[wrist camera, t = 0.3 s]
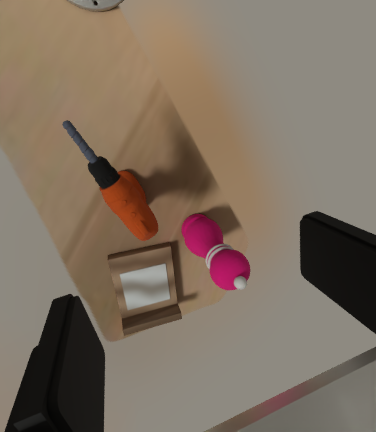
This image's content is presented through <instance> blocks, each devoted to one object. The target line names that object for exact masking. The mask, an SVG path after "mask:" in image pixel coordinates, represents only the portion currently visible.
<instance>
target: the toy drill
mask: <svg viewBox="0 0 376 432" xmlns="http://www.w3.org/2000/svg"><path fill="white" fill-rule="evenodd" d="M63 127H64V128H65V129H66V130H67V132H68V134H69V135H70V136H71V138H73V140H74V141H75V143H76V144H77V145H78V146H79V148H80V150H81V151H82V153H84V156H85V157H86V158H87V160H89V161H90V163H89V164H88V169H89V172H90V173H91V174H92V175H93V177H94V178H95V181H96V182H97V183H98V185H99V186H100V191H101V192H102V195H103V198H104V200H105V202H106V203H107V205H108V206H109V207H110V208H111V210H112V211H113V212H114V213H115V214H116V215H118V216H119V218H120V219H121V220H122V221H123V223H124V224H125V225H126V226H127V227H128V229H129V230H130V231H131V232H132V233H133V234H134V235H135V236H136V237H137V238H138V239H140V240H142V241H145V240H148V239H150V238H152V237H153V236H154V235H155V234H156V233H157V232H158V223H157V220H156V218H155V216H154V214H153V212H152V211H151V209H150V208H149V206H148V205H147V203H146V196H145V193H144V191H143V189H142V187H141V185H140V184H139V182H138V181H137V179H136V178H135V177H134V176H133V175H132V174H131V173H130V172H128V171H119V172H117V171H116V170H115V169H114V168H113V167H112V166H111V165H110V163H109V162H108V161H107V159H105V158H103V157H101V156H99V157H97V156H96V155H95V154H94V151H93V150H92V149H91V148H90V147H89V146H88V144H87V143H86V142H85V140H84V139H82V136H81V135H80V134H79V132H78V131H76V128H75V127H74V126H73V125H72V123H71V122H70V121H64V122H63Z"/></svg>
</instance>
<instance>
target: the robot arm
mask: <svg viewBox="0 0 376 432" xmlns="http://www.w3.org/2000/svg"><path fill="white" fill-rule="evenodd" d="M67 1H69V2H70V3H71V4H73V5H75V6H77V7H79V8H82V9H85V10H89V11H106V10H109V9H112V8H114V7H116V6H118V5H119V4H120V3H121V2H123V1H124V0H67ZM94 2H97V3H98V5H97V6H96V5H94ZM300 264H301V266H300V267H301V274H302V276H303V277H304V278H305V279H306V280H307V281H309V282H310V283H311V284H313V285H314V286H315V287H316V288H318V289H319V290H320V291H322V292H323V293H324V294H325V295H327V296H328V297H329V298H330V299H332V300H333V301H334V302H335V303H337V304H338V305H339V306H341V307H342V308H343V309H344V310H346V311H347V312H348V313H349V314H351V315H352V316H353V317H355V318H356V319H357V320H358V321H360V322H361V323H362V324H364V325H365V326H366V327H367V328H369V329H370V330H371V331H373V332H374V333H375V334H376V235H374V234H372V233H369V232H367V231H365V230H362V229H360V228H357V227H355V226H353V225H350V224H348V223H345V222H343V221H340V220H338V219H336V218H333V217H331V216H328V215H326V214H324V213H321V212H318V211H316V212H312V213H309V214H306V215H304V216H303V218H302V220H301V221H300ZM104 386H105V353H104V349H103V346H102V344H101V342H100V340H99V338H98V336H97V333H96V331H95V329H94V327H93V325H92V323H91V321H90V319H89V317H88V314H87V312H86V310H85V308H84V306H83V304H82V302H81V300H80V298H79V296H75V297H73V295H72V294H68V295H65V296H62V297H60V298H56V299H54V300H53V301H52V304H51V307H50V310H49V314H48V316H47V320H46V323H45V326H44V329H43V332H42V335H41V338H40V341H39V345H38V346H36V347H35V348H34V349H33V351H32V353H31V355H30V358H29V361H28V364H27V367H26V370H25V373H24V376H23V379H22V382H21V385H20V388H19V391H18V394H17V396H16V399H15V403H14V406H13V408H12V411H11V414H10V417H9V420H8V423H7V426H6V429H5V432H104ZM205 432H376V347H375V348H373V349H370V350H368V351H366V352H364V353H362V354H360V355H358V356H356V357H354V358H352V359H350V360H348V361H346V362H344V363H342V364H340V365H338V366H336V367H334V368H331V369H330V370H327V371H325V372H323V373H321V374H319V375H317V376H315V377H313V378H311V379H309V380H307V381H305V382H303V383H301V384H299V385H297V386H295V387H293V388H291V389H289V390H287V391H285V392H283V393H281V394H279V395H277V396H275V397H273V398H271V399H269V400H267V401H265V402H263V403H261V404H259V405H257V406H255V407H253V408H251V409H249V410H247V411H245V412H243V413H241V414H239V415H237V416H235V417H233V418H231V419H229V420H227V421H225V422H223V423H221V424H219V425H217V426H215V427H213V428H211V429H209V430H207V431H205Z"/></svg>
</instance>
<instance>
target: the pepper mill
mask: <svg viewBox="0 0 376 432" xmlns="http://www.w3.org/2000/svg"><path fill="white" fill-rule="evenodd" d="M182 234H183V236H184V238H185V244H186V246H187V247H188V249H189V250H190V251H191V252H192V253H194V254H195V255H197V256H200V257H203V258H205V259H206V265H207V267H208V268H209V270H210V275H211V278H212V280H213V281H214V283H215V284H216V285H217V286H219V287H220V288H222V289H225V290H235V289H244V288H245V287H246V285H247V280H248V278H249V275H250V265H249V262H248V260H247V259H246V257H245V256H244V255H243V254H242V253H240V252H239V251H236V250H234V249H233V248H232V247H231V246H229V245H227V244H224V243H223V235H222V231H221V229H220V227H219V226H218V224H217V223H216V222H214V221H213V220H211V219H208V218H207V217H206V216H204V215H202V214H194V215H191V216H189V217H188V218H187V219H186V220H185V221H184V223H183V225H182Z"/></svg>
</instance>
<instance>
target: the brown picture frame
mask: <svg viewBox="0 0 376 432" xmlns="http://www.w3.org/2000/svg"><path fill="white" fill-rule="evenodd" d="M108 263H109V267H110V271H111V275H112V279H113V283H114V288H115V292H116V296H117V300H118V304H119V308H120V313H121V317H122V326H123V333H124V336H125V335H128V334H131V333H135V332H138V331H142V330H145V329H148V328H152V327H155V326H159V325H162V324H165V323H169V322H172V321H176V320H179V319H182V316H181V311H180V309H179V306H178V303H177V295H176V286H175V278H174V270H173V261H172V253H171V246H170V244H169V242H168V243H163V244H158V245H154V246H149V247H144V248H140V249H135V250H130V251H125V252H121V253H116V254H111V255H108Z"/></svg>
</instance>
